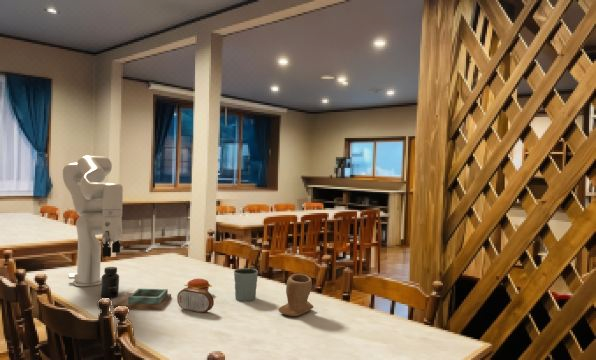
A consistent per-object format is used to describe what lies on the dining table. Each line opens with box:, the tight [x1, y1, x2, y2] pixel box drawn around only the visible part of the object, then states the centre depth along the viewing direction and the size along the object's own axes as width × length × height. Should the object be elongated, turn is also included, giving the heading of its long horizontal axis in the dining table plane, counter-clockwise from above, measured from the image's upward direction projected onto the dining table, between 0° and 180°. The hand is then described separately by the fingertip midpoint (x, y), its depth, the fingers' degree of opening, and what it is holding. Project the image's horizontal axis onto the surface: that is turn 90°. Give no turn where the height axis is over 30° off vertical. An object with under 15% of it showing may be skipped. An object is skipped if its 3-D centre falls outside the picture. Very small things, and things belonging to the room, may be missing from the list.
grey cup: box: [233, 267, 259, 303], centre depth 183 cm, size 10×10×12 cm
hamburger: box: [183, 278, 213, 292], centre depth 188 cm, size 9×10×7 cm
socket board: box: [112, 288, 172, 311], centre depth 173 cm, size 18×16×4 cm
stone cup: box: [277, 273, 314, 317], centre depth 168 cm, size 15×12×15 cm
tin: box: [176, 286, 215, 314], centre depth 166 cm, size 15×3×8 cm, turn 71°
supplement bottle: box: [100, 266, 120, 299], centre depth 179 cm, size 7×7×12 cm
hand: (111, 254), depth 178 cm, fingers open, 9 cm apart
